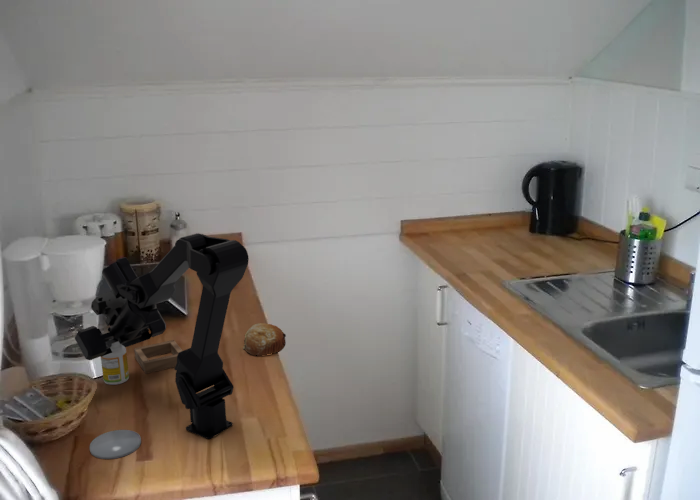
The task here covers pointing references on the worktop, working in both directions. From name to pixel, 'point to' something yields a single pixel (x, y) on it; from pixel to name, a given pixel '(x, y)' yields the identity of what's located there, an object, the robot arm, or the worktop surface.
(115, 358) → the supplement bottle
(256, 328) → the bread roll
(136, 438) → the slate coaster
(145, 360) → the rectangular wooden frame
